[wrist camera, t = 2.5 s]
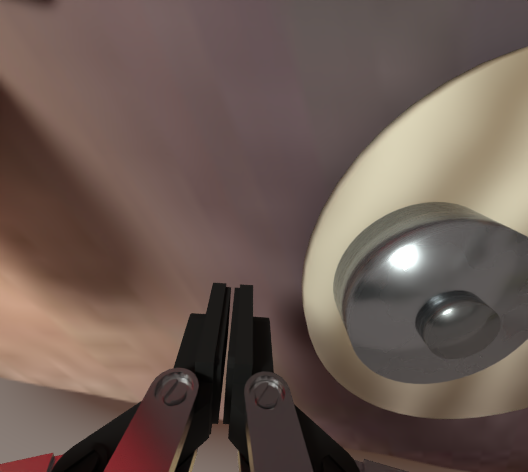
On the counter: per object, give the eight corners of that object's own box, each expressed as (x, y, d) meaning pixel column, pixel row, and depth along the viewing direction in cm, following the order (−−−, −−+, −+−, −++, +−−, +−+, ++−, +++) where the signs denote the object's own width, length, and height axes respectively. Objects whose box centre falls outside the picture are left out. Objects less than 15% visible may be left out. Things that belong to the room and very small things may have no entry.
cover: (532, 210, 14) (631, 248, 10) (458, 344, 17) (511, 406, 14) (355, 193, 13) (393, 226, 9) (319, 335, 17) (336, 397, 13)
